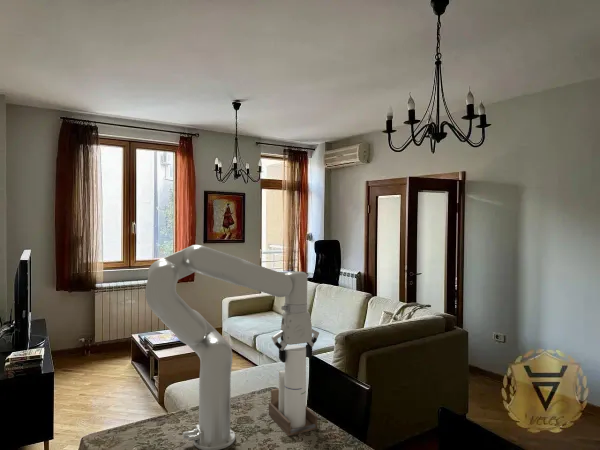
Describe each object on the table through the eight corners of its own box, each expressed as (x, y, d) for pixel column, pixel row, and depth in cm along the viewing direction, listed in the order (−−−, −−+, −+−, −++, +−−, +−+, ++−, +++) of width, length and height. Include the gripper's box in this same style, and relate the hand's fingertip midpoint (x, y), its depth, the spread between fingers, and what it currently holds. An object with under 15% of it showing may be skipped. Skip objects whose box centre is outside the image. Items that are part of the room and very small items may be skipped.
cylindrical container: (281, 420, 136) (281, 346, 136) (300, 416, 139) (300, 344, 139) (289, 430, 129) (289, 352, 130) (309, 426, 132) (309, 349, 133)
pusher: (279, 419, 135) (280, 372, 136) (278, 418, 136) (278, 371, 137) (302, 415, 139) (302, 368, 139) (300, 413, 140) (300, 367, 140)
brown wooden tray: (288, 435, 127) (288, 408, 127) (268, 414, 141) (268, 390, 142) (317, 428, 131) (317, 402, 131) (295, 409, 146) (295, 385, 146)
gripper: (276, 312, 128) (276, 366, 127) (323, 308, 136) (323, 359, 135) (268, 308, 135) (267, 359, 134) (313, 304, 142) (313, 353, 142)
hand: (295, 359), depth 135 cm, fingers open, 9 cm apart
